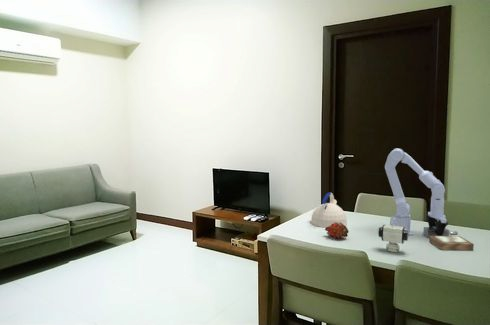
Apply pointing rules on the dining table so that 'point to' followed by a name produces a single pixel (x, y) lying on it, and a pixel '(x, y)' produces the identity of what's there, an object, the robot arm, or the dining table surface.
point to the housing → (433, 231)
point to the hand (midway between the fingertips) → (436, 233)
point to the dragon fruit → (337, 230)
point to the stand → (451, 243)
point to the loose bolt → (453, 232)
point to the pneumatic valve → (393, 236)
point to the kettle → (328, 213)
